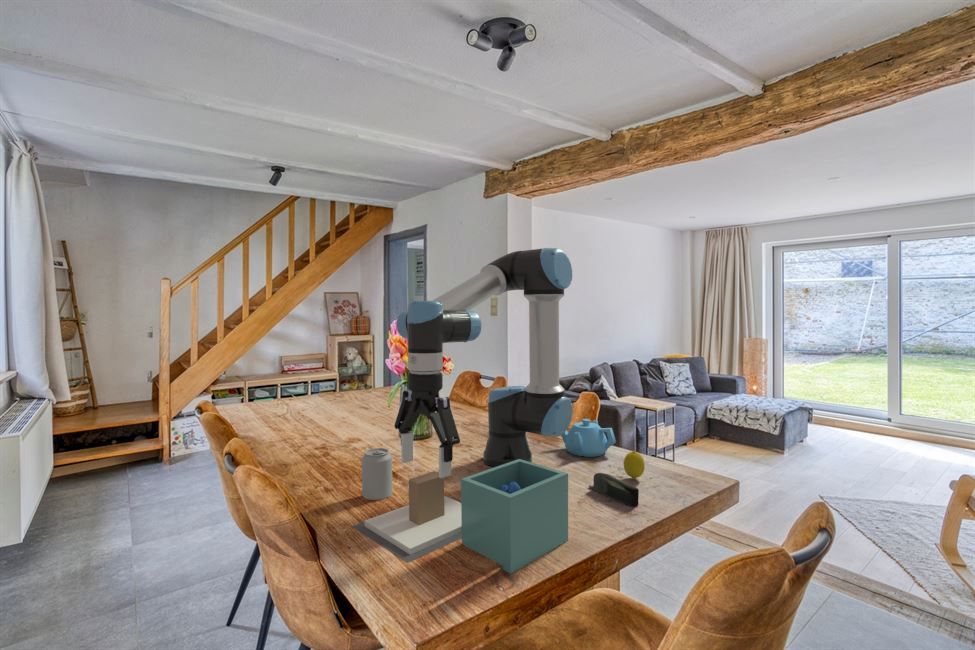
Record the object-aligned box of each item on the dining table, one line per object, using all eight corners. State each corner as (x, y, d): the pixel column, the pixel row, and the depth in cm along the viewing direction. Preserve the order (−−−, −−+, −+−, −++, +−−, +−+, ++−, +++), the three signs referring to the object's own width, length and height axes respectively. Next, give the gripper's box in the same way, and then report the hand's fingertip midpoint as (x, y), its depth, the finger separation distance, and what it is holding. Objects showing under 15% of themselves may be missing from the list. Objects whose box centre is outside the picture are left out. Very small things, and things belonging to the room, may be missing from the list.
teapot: (573, 461, 149) (573, 426, 149) (555, 447, 164) (555, 416, 164) (618, 457, 153) (618, 423, 152) (596, 444, 168) (596, 413, 167)
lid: (364, 526, 104) (363, 479, 104) (440, 498, 119) (439, 457, 118) (410, 554, 92) (409, 502, 92) (488, 519, 107) (487, 474, 106)
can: (366, 505, 117) (365, 457, 116) (359, 495, 124) (358, 449, 123) (396, 499, 120) (395, 452, 120) (387, 489, 127) (387, 444, 126)
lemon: (645, 483, 130) (645, 454, 130) (624, 482, 131) (624, 453, 131) (643, 476, 135) (643, 448, 135) (622, 475, 137) (623, 447, 136)
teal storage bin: (461, 547, 96) (461, 478, 96) (519, 520, 108) (519, 458, 108) (510, 573, 87) (510, 497, 86) (568, 540, 99) (568, 473, 98)
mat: (351, 529, 104) (351, 526, 104) (441, 497, 122) (441, 493, 122) (407, 566, 89) (407, 562, 89) (500, 523, 107) (500, 519, 107)
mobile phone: (641, 487, 116) (595, 467, 128) (632, 489, 114) (586, 470, 127) (640, 507, 116) (594, 486, 128) (632, 510, 114) (586, 488, 127)
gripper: (379, 368, 110) (379, 459, 111) (448, 379, 93) (448, 488, 93) (406, 365, 116) (406, 452, 116) (477, 375, 98) (476, 478, 98)
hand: (425, 468), depth 105 cm, fingers open, 13 cm apart
